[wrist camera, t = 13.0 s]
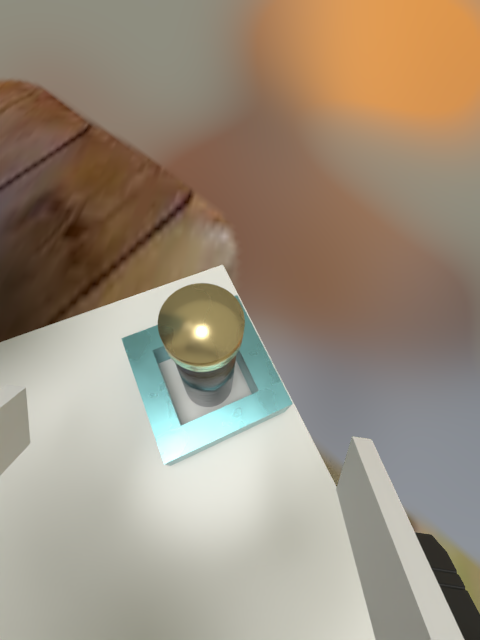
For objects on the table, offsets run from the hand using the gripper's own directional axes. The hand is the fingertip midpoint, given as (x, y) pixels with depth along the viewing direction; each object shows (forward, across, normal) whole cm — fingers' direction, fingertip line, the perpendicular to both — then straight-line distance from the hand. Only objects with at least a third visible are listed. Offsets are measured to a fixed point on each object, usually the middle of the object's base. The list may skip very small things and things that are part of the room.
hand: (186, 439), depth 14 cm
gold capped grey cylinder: (+12, 0, -4) cm, 12 cm away
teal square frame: (+12, 0, -4) cm, 12 cm away
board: (+6, -2, -11) cm, 13 cm away
